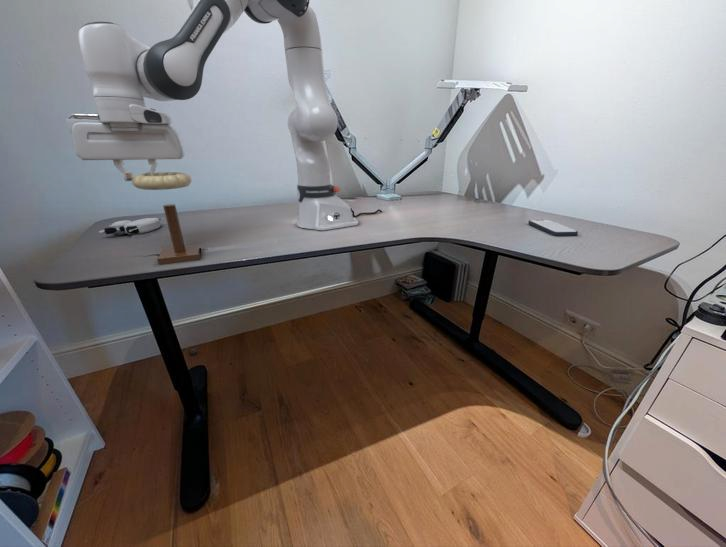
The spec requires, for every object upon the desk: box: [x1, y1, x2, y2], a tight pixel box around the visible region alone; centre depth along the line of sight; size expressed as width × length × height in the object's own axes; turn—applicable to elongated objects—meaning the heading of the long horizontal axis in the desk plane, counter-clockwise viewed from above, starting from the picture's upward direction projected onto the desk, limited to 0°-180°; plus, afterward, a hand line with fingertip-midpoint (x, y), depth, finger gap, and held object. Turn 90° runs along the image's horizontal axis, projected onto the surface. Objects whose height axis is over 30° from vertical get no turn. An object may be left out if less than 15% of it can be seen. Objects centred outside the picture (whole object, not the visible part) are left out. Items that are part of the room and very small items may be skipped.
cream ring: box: [131, 171, 192, 191], centre depth 75 cm, size 12×12×3 cm
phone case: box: [527, 219, 579, 237], centre depth 110 cm, size 9×2×16 cm
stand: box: [157, 203, 202, 265], centre depth 80 cm, size 9×9×14 cm
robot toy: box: [98, 217, 165, 236], centre depth 101 cm, size 12×4×15 cm
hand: (140, 180), depth 73 cm, fingers closed on cream ring, 3 cm apart
